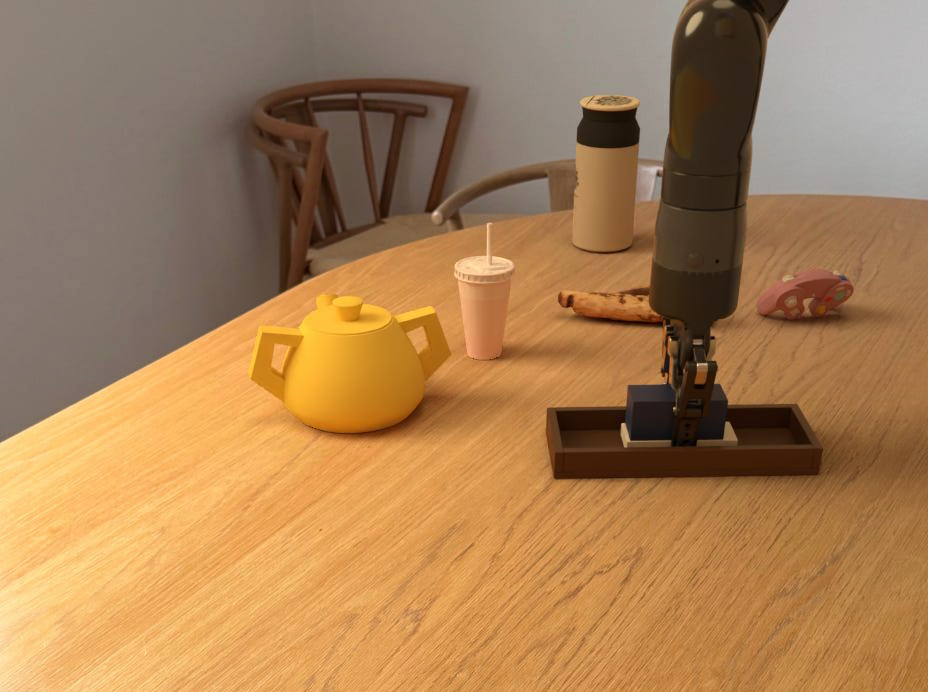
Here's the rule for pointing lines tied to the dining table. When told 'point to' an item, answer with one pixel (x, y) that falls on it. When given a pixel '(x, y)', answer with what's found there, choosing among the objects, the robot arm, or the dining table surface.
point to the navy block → (671, 418)
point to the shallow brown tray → (758, 451)
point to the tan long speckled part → (612, 304)
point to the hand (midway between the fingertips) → (678, 440)
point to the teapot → (350, 364)
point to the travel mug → (606, 173)
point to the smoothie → (484, 300)
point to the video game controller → (806, 293)
